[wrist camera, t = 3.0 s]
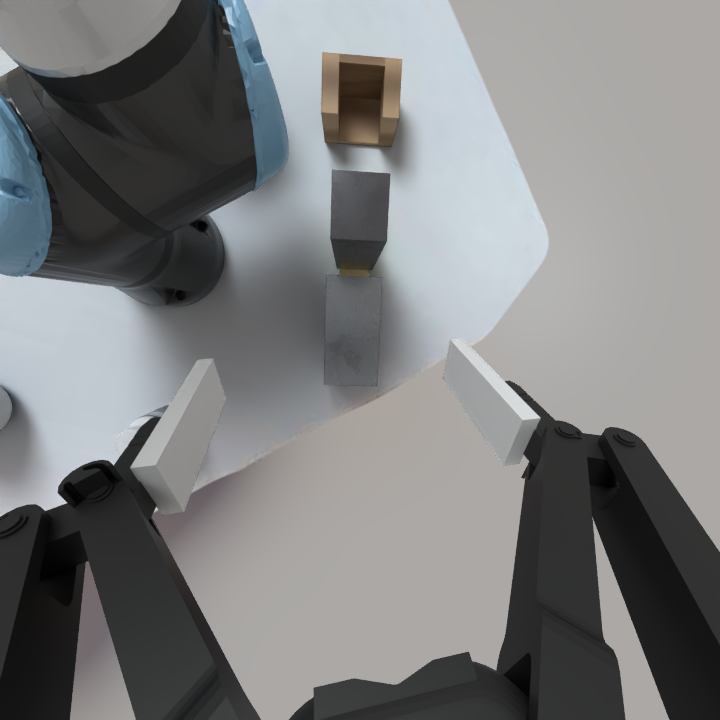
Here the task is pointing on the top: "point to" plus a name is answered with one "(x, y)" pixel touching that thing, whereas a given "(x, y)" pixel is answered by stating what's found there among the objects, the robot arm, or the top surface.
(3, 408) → the black egg shape
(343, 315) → the sleeve
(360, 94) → the open wooden box
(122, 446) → the pill bottle
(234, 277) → the top surface
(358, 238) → the grey yellow upright-t piece
